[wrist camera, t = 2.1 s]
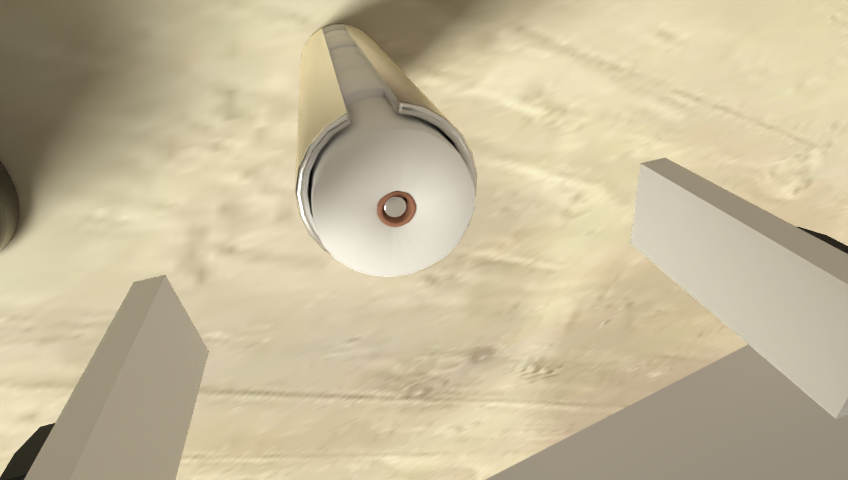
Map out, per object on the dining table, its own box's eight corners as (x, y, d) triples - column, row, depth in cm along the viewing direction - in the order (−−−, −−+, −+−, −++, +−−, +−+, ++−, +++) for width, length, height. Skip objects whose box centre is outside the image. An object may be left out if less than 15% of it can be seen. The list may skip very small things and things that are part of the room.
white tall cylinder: (393, 42, 36) (519, 146, 15) (368, 119, 38) (444, 299, 18) (312, 9, 33) (326, 78, 12) (291, 94, 36) (273, 268, 15)
